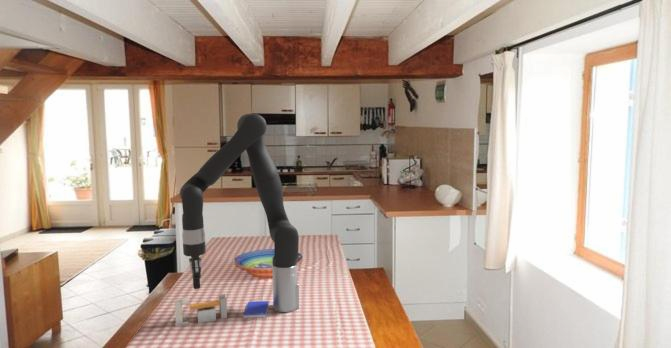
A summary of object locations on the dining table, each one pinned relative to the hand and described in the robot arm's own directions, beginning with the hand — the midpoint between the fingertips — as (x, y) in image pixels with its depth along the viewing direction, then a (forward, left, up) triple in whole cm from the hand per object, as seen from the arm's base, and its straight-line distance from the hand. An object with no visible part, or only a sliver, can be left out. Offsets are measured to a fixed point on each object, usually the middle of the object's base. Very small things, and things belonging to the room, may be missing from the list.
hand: (196, 288), depth 166 cm
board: (-1, 0, -13) cm, 13 cm away
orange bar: (-4, 0, -8) cm, 8 cm away
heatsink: (-3, 0, -13) cm, 13 cm away
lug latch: (+5, 0, -12) cm, 13 cm away
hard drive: (-22, -3, -14) cm, 26 cm away
